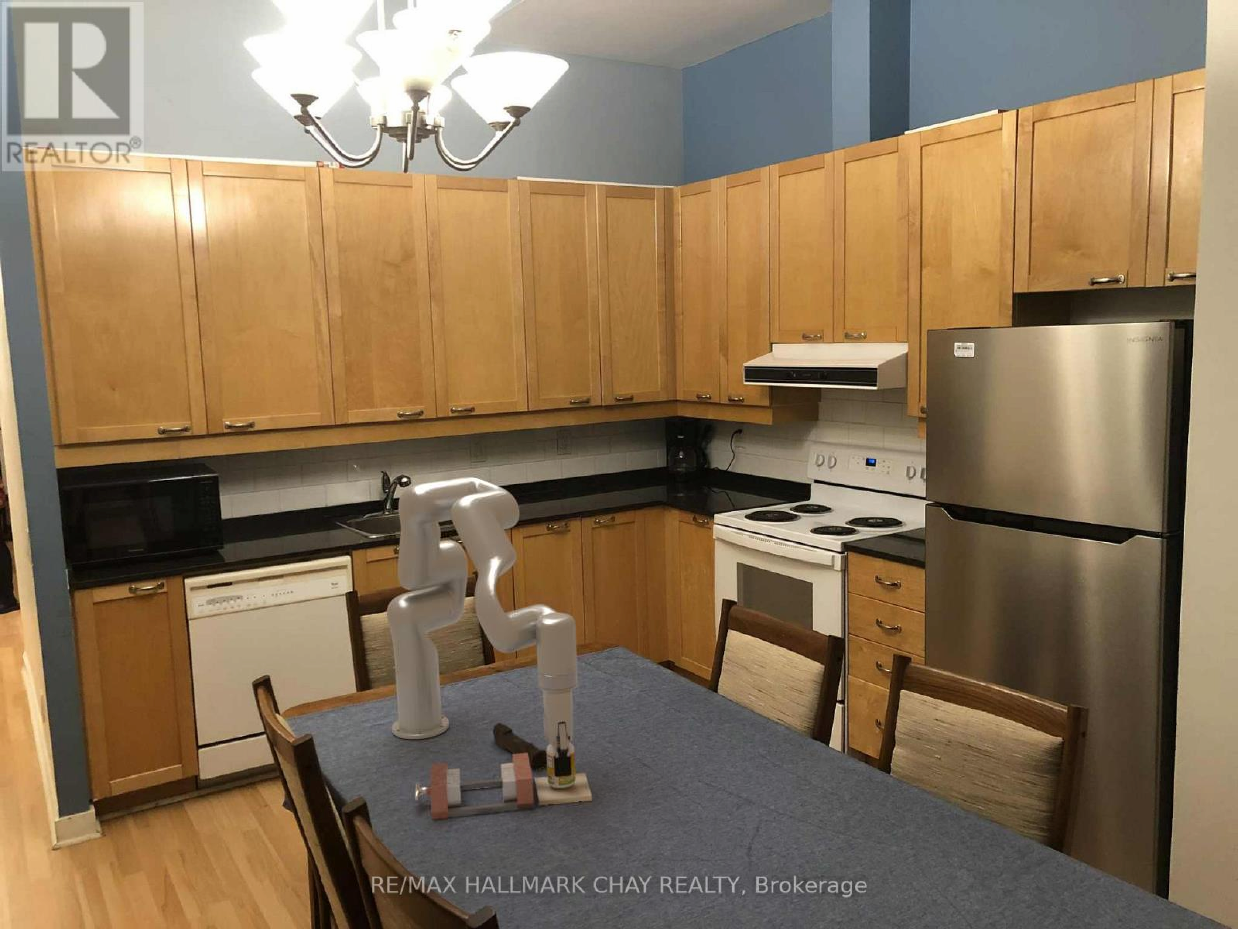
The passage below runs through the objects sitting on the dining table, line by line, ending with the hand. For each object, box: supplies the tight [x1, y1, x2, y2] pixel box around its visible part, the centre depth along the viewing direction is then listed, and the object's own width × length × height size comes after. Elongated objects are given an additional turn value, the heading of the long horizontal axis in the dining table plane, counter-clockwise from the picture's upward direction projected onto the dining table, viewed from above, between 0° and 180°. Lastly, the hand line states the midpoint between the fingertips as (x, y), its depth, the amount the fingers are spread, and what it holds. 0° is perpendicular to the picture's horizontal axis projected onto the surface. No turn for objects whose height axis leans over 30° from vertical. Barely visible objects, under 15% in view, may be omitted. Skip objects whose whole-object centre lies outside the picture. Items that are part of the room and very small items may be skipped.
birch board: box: [534, 772, 593, 807], centre depth 197 cm, size 10×10×1 cm
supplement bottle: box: [546, 737, 576, 788], centre depth 197 cm, size 5×5×10 cm
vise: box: [414, 753, 535, 820], centre depth 194 cm, size 12×22×6 cm, turn 99°
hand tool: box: [492, 722, 547, 771], centre depth 215 cm, size 19×4×5 cm, turn 34°
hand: (561, 767), depth 197 cm, fingers closed on supplement bottle, 5 cm apart
